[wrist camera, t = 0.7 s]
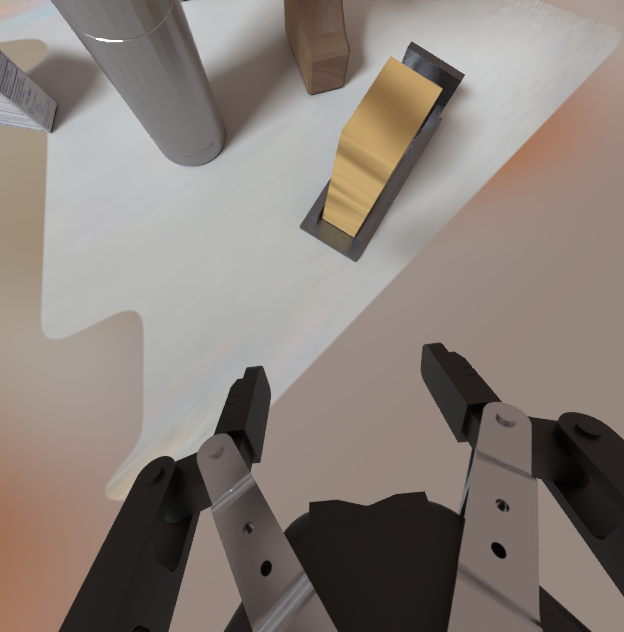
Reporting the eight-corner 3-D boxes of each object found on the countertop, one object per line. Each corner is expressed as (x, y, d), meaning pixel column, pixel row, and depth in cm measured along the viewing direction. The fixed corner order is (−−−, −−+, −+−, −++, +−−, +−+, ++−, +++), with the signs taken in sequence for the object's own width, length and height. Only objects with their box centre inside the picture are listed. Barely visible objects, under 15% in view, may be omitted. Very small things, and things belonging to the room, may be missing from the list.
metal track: (355, 262, 34) (370, 244, 27) (299, 228, 34) (300, 201, 27) (440, 122, 36) (471, 74, 30) (388, 89, 36) (408, 35, 29)
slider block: (353, 237, 33) (395, 166, 19) (322, 218, 33) (340, 132, 19) (382, 190, 34) (442, 88, 20) (351, 171, 34) (390, 56, 20)
